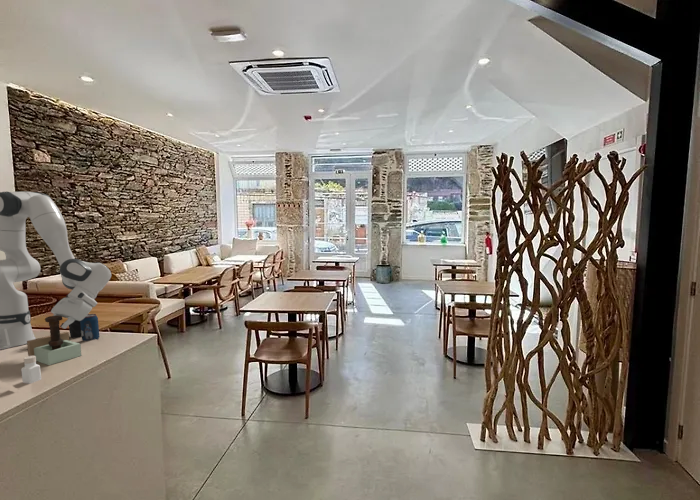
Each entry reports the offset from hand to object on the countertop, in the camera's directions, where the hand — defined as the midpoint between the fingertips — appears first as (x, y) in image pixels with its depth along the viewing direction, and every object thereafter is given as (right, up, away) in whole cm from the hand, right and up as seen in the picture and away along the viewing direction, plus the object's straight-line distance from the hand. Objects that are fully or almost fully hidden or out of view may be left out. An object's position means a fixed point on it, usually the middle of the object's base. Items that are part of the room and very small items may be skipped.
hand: (56, 326), depth 162 cm
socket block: (+1, -13, -1) cm, 13 cm away
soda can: (-2, -12, +25) cm, 28 cm away
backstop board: (+3, -14, -1) cm, 14 cm away
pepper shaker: (+8, -16, -23) cm, 29 cm away
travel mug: (-13, -11, +34) cm, 38 cm away
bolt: (0, -11, 0) cm, 11 cm away
